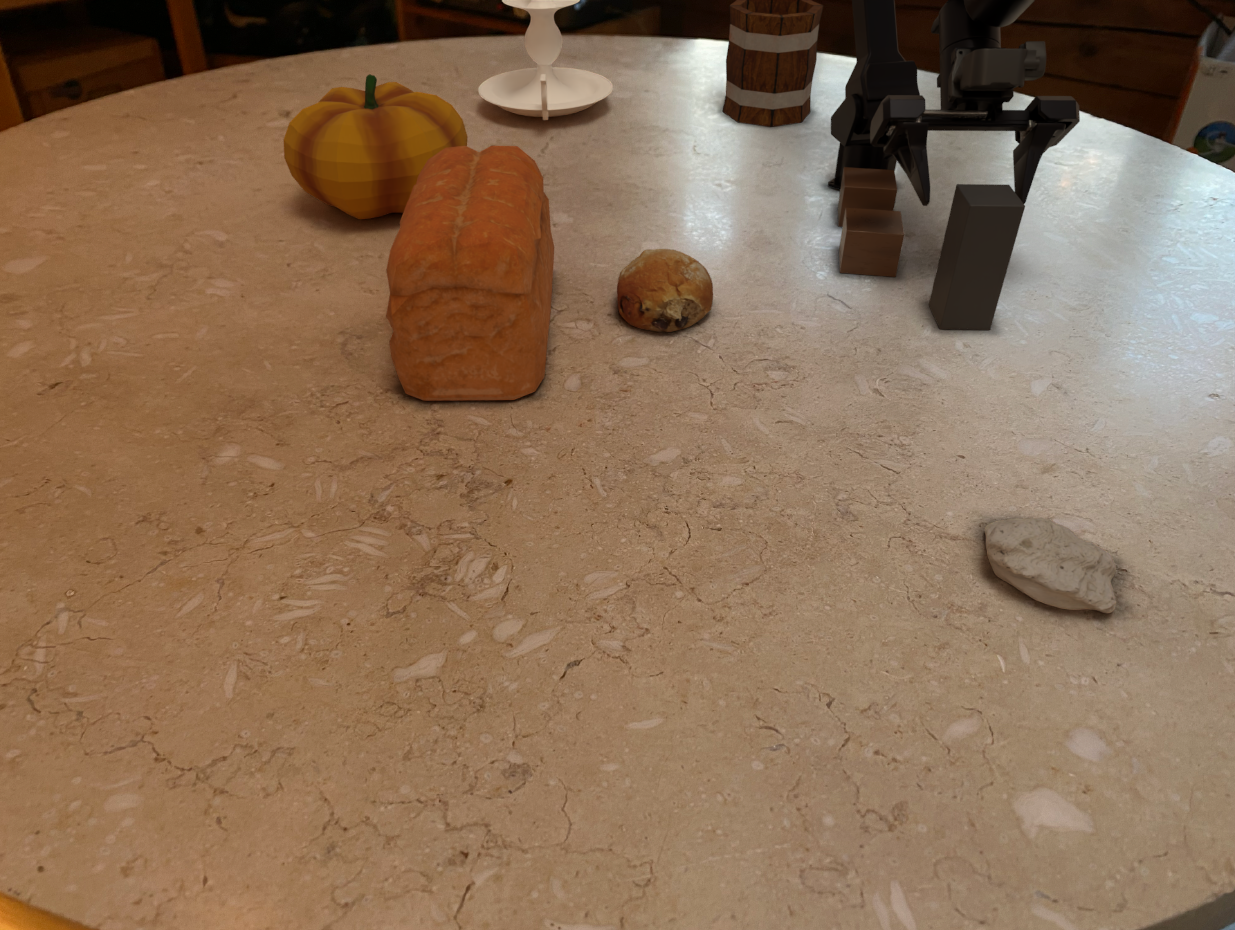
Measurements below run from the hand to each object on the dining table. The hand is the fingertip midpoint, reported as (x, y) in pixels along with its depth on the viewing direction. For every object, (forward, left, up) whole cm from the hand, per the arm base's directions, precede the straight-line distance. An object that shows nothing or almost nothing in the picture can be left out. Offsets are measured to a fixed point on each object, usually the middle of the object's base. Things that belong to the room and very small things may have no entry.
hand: (973, 204), depth 92 cm
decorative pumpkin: (-66, -21, -11) cm, 70 cm away
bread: (-34, -35, -11) cm, 50 cm away
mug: (-49, +40, -11) cm, 64 cm away
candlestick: (-73, +16, -11) cm, 75 cm away
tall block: (+2, -3, -10) cm, 11 cm away
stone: (+22, -33, -11) cm, 41 cm away
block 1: (-17, +12, -10) cm, 23 cm away
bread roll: (-22, -21, -11) cm, 32 cm away
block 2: (-11, +2, -10) cm, 15 cm away
